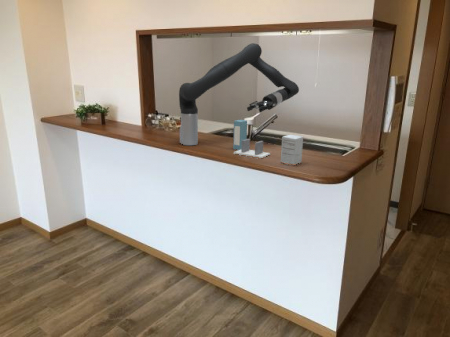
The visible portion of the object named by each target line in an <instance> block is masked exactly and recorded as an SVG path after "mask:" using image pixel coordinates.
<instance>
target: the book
mask: <svg viewBox="0 0 450 337" xmlns="http://www.w3.org/2000/svg"><path fill="white" fill-rule="evenodd" d="M247 130H248V120H247V119H246V120H245V119H237V120H233V146H232V148H233V150H236V149H237V150H236V151H238V150H240V149H241V148H242V140H245V139H248V138H247V134H248V133H247V132H248V131H247Z"/></svg>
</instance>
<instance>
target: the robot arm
mask: <svg viewBox="0 0 450 337" xmlns="http://www.w3.org/2000/svg"><path fill="white" fill-rule="evenodd" d="M262 52H263V51H262V47H261V46H260V45H259V44H258V43H255V42H254V43H250V44H247V45H246V46H245V47H244V48H242V50H240V51H239V52H238V53H236V54H235V55H233V56H230V57H227V58H226V59H224V60H222V61H220V62H219V63H218V64H215V65H214V66H213V67H211V68H210V69H209V70H208V71H207V72H206V73H205V74H204V75H203V76H202V77H201V78H198V79H197V80H195V81H193V82H185V83H184V82H183V83H182V84H181V85H180V87H179V92H178V99H179V100H178V101H179V109H180V126H179V144H180V143H181V145H182V144H183V146H195V145H198V144H199V136H198V135H199V127H198V124H199V122H198V121H199V119H198V118H199V116H198V114H199V111H198V109H199V108H198V106H197V103H196V101H197V99H199V98H200V97H201V96H203V95H204V94H205V93H206V92H208V91H209V90H210V89H212V88H213V87H216V86H217V85H219V84H220V83H222V82H224V81H226V80H227V79H229V78H230V77H232V76H233V75H235V74H236V73H237V72H238V71H240V69H242V67H245V66H246V65H248V64H249V65H251V66H252V67H254V69H256V70H258V71H259V72H260V73H261V74H262V75H264V76H265V77H266V79H268V80H269V81H270V82H271V83H272V84H273V85H275V87H276V88H281V89H278V90H276V91H273V92H271V93H269V94H267V95H265V96H264V97H263V98H262V100H260V101H258V100H255V101H253V102H251V103H249V104H248V105H249V106H246V110H247V112H250V111H252V110H255V109H256V110H258V111H259V113H262V112H264V111H271V110H272V109H274V108H276V106H278V105H280V104H281V103H283V102H284V101H288V100H289V99H291V98H293V97H294V96H296V95H298V93H299V91H300V88H299V86H298V84H297V83H296V82H294V81H292V80H291V79H289V78H287V77H285V76H284V75H283V74H282V73H281V72H280V71H279V70H278V69H277V68H276V67H274V66H272V65H270V64H269V63H267V62H266V61H265V60H263V59H262V57H261V56H262ZM282 87H283V88H282Z"/></svg>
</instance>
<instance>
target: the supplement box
mask: <svg viewBox="0 0 450 337" xmlns="http://www.w3.org/2000/svg"><path fill="white" fill-rule="evenodd" d="M303 144H304V136H302V135H297V134H296V135H295V134H288V135H284V136H282V137H281V147H280V148H281V152H280V153H281V154H280V163H281V162H284V163H289V164H297V163H299V164H301V163H302V159H303V146H304V145H303ZM300 162H301V163H300ZM297 165H298V164H297Z"/></svg>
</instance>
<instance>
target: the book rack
mask: <svg viewBox="0 0 450 337" xmlns="http://www.w3.org/2000/svg"><path fill="white" fill-rule="evenodd" d="M250 143H251V139H250V138H246V139H245V140H242V148H241V149H240V150H236V151H235V150H234V151H233V154H234V155H235V154H239V155H238V156H241V155H246V156H245V157H247V156H253V157H259V158H263V157H266V156H268V155H270V156H271V152H265V151H264V140H259V141H257V142H255V143H254V149H250V148H251V147H250ZM268 157H269V156H268ZM266 158H267V157H266Z"/></svg>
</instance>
